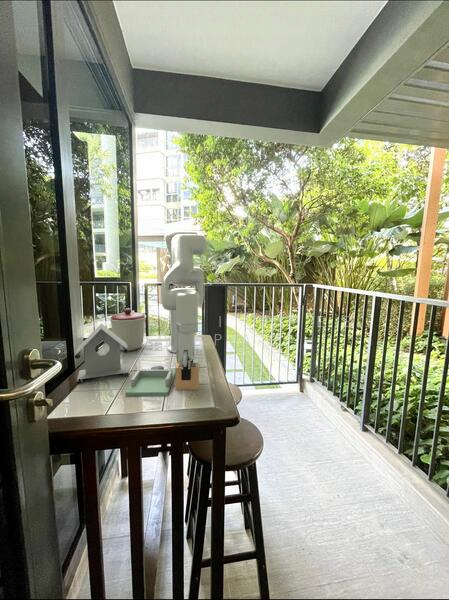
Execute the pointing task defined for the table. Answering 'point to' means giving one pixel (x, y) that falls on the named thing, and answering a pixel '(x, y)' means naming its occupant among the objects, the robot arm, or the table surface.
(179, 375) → the chute block
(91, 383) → the table surface
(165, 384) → the green walled tray
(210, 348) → the table surface
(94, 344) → the grey nesting box
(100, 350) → the table surface
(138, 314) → the canister
